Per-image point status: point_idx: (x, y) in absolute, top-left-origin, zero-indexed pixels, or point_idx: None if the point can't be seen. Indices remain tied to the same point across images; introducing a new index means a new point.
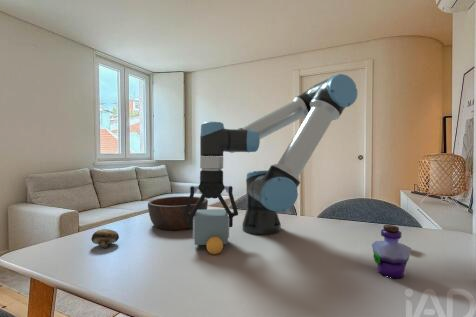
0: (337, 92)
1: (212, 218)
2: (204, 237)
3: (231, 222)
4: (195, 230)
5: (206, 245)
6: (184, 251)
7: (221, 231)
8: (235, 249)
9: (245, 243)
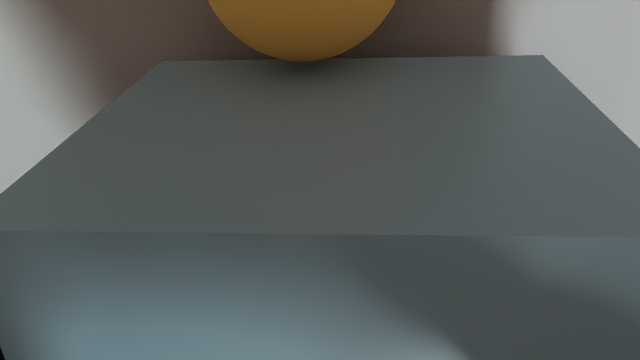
0: None
1: (305, 206)
2: (434, 82)
3: None
4: (592, 113)
5: None
6: (628, 53)
7: (191, 111)
8: (102, 51)
9: None
